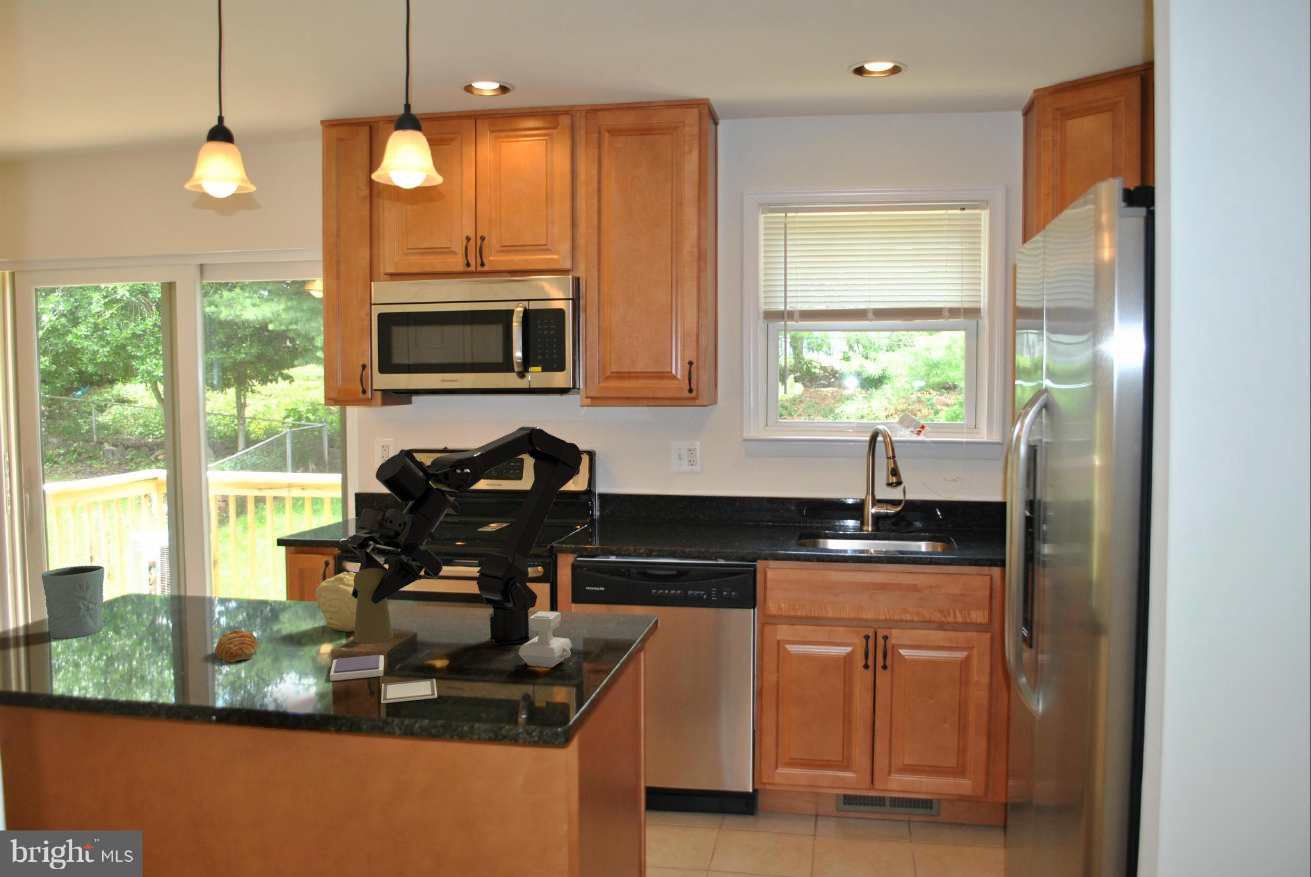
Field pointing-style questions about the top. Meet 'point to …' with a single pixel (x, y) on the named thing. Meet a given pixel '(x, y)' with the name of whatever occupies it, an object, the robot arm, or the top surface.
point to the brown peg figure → (371, 609)
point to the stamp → (545, 641)
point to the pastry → (236, 646)
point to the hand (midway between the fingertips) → (363, 599)
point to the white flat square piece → (408, 691)
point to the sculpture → (338, 601)
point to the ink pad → (357, 667)
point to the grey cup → (74, 601)
